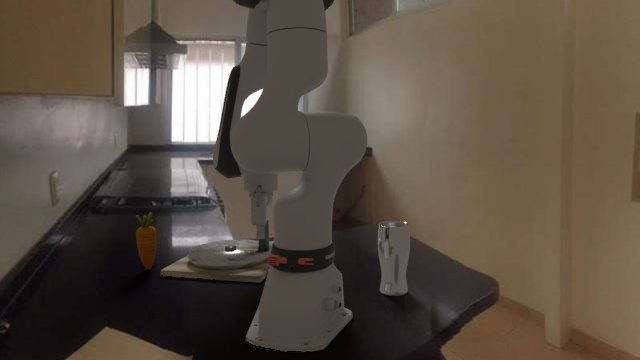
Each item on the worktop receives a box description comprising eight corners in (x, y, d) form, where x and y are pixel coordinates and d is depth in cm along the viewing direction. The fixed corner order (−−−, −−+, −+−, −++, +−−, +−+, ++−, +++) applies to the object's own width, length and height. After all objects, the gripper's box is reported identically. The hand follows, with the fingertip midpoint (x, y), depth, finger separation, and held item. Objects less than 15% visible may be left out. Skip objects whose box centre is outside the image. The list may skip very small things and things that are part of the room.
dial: (260, 270, 113) (258, 230, 112) (173, 268, 116) (171, 228, 115) (280, 247, 135) (279, 212, 133) (207, 245, 138) (205, 211, 137)
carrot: (134, 272, 120) (130, 214, 118) (146, 266, 124) (143, 210, 123) (150, 273, 118) (146, 215, 116) (162, 267, 123) (159, 211, 121)
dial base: (260, 282, 110) (260, 275, 110) (160, 276, 116) (160, 269, 116) (291, 252, 135) (291, 246, 135) (208, 248, 141) (208, 243, 141)
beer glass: (409, 297, 99) (410, 228, 97) (376, 295, 100) (376, 227, 99) (410, 286, 106) (410, 221, 104) (378, 284, 107) (378, 220, 105)
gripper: (270, 188, 113) (272, 244, 114) (275, 179, 133) (276, 227, 135) (244, 189, 113) (246, 245, 114) (252, 179, 133) (254, 227, 134)
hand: (262, 235), depth 125 cm, fingers open, 5 cm apart
